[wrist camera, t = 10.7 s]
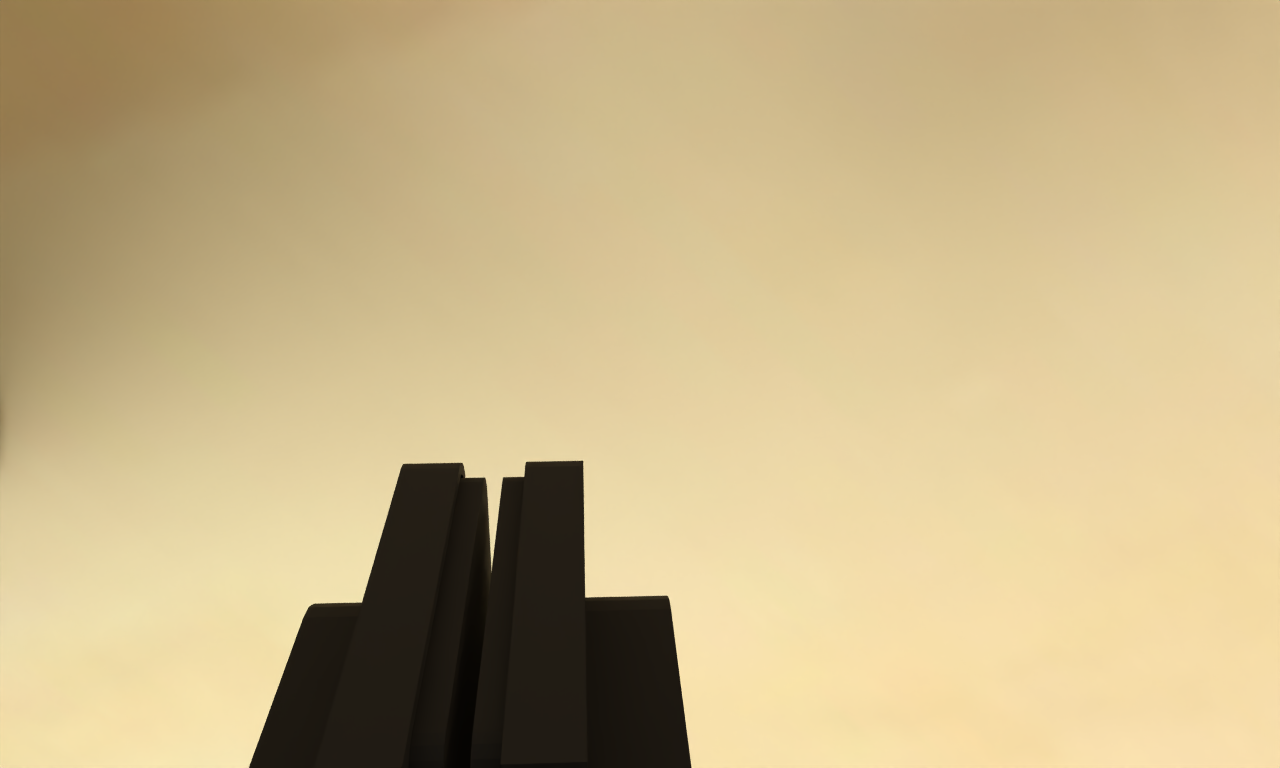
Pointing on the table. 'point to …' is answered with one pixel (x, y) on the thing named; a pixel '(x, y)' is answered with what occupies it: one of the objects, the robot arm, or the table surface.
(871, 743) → the table surface
